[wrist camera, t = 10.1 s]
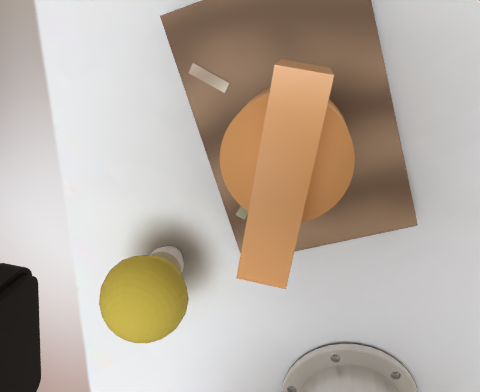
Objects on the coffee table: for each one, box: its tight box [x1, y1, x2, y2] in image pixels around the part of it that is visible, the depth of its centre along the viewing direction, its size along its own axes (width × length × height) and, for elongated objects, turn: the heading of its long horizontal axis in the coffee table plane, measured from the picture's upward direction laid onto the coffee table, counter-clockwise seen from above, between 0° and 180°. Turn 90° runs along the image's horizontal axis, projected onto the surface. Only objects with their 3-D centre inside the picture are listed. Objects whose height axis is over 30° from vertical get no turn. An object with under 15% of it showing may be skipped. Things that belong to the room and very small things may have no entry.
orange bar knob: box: [220, 59, 355, 289], centre depth 24 cm, size 11×7×8 cm, turn 172°
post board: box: [160, 0, 417, 253], centre depth 31 cm, size 20×14×8 cm
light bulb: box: [99, 246, 188, 343], centre depth 36 cm, size 7×7×10 cm
